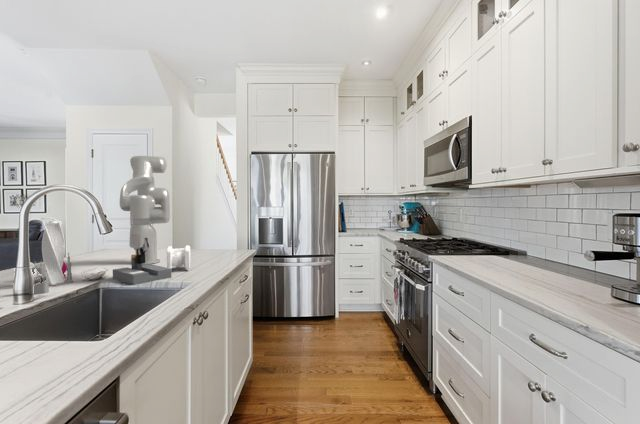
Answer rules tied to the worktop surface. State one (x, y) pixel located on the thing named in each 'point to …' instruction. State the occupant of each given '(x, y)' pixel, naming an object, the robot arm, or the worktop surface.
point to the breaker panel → (141, 274)
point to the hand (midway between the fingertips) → (140, 263)
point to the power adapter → (43, 286)
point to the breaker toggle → (134, 264)
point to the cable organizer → (178, 257)
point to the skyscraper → (55, 253)
